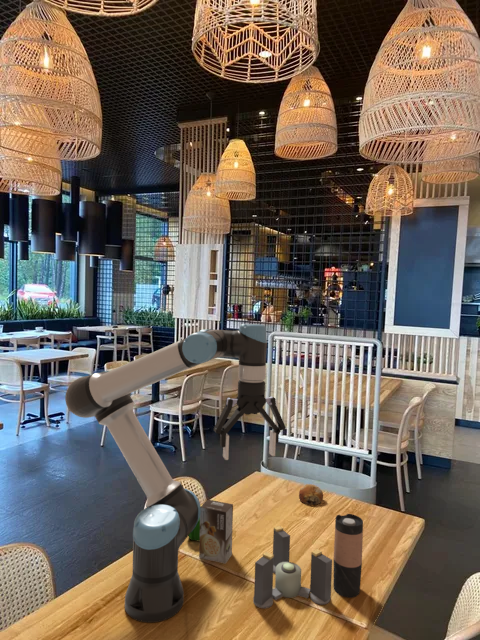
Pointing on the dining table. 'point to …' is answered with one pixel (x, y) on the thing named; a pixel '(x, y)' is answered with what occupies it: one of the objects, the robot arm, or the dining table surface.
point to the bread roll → (311, 494)
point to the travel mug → (348, 555)
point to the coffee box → (216, 531)
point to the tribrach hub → (288, 581)
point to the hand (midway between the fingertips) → (249, 456)
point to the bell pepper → (195, 532)
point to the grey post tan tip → (320, 578)
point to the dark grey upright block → (264, 581)
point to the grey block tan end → (280, 546)
